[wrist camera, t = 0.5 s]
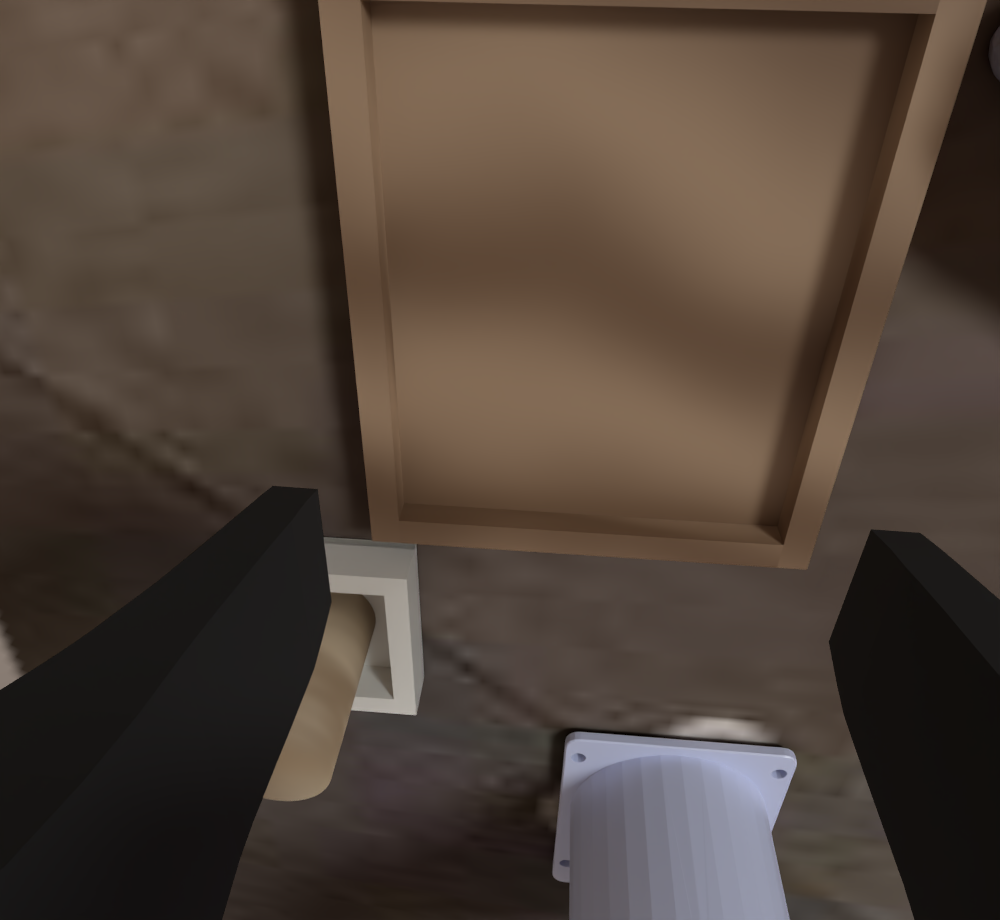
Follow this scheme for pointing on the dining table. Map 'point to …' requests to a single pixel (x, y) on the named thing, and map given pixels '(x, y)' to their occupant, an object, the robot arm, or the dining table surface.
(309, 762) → the dowel
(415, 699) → the holder
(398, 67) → the tray
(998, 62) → the stone block
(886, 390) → the dining table surface
